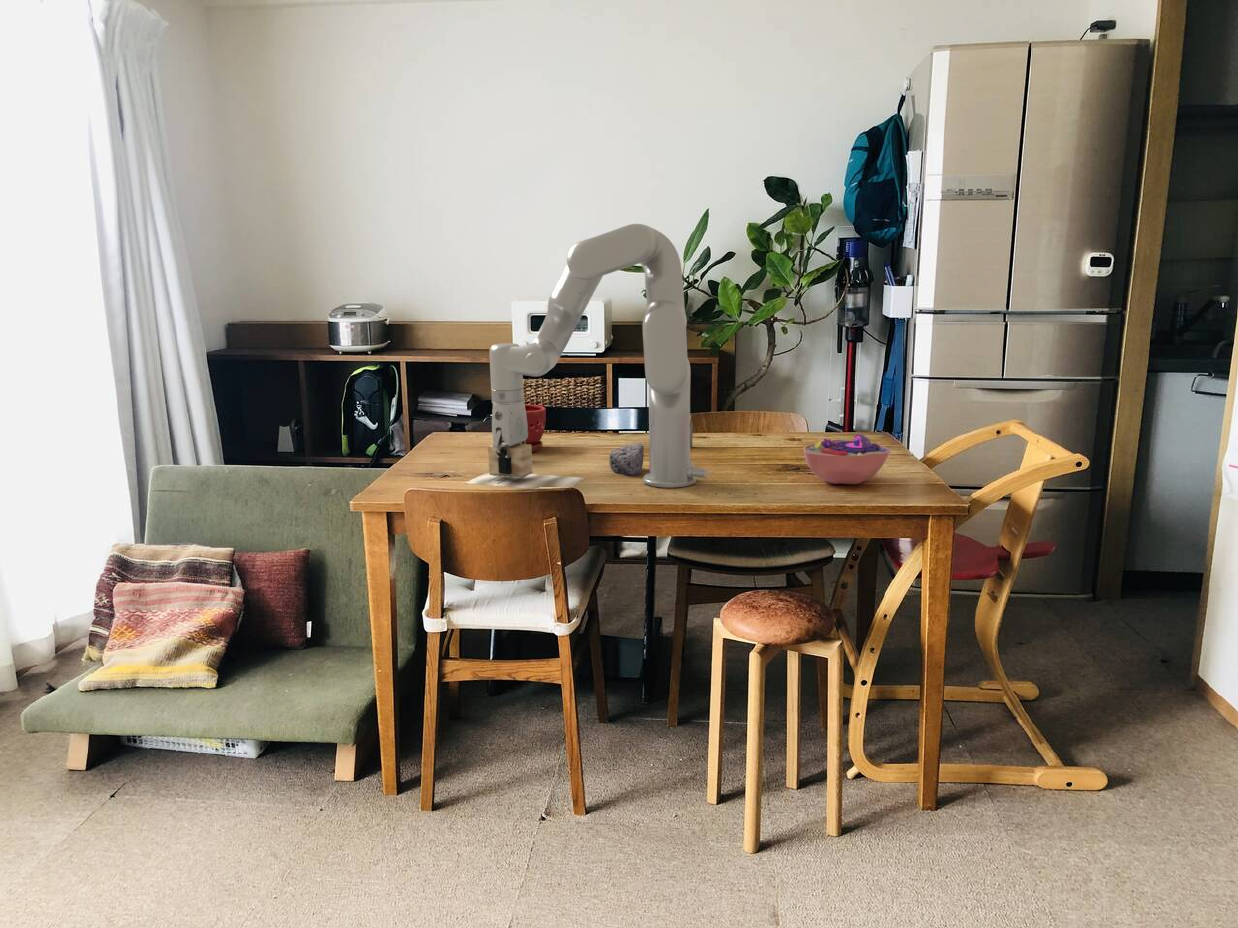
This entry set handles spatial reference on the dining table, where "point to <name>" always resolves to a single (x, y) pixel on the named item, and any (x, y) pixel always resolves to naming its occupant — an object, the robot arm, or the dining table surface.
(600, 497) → the dining table surface
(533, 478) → the board
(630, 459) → the pumice stone
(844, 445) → the cell model
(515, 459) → the block
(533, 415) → the plant pot
